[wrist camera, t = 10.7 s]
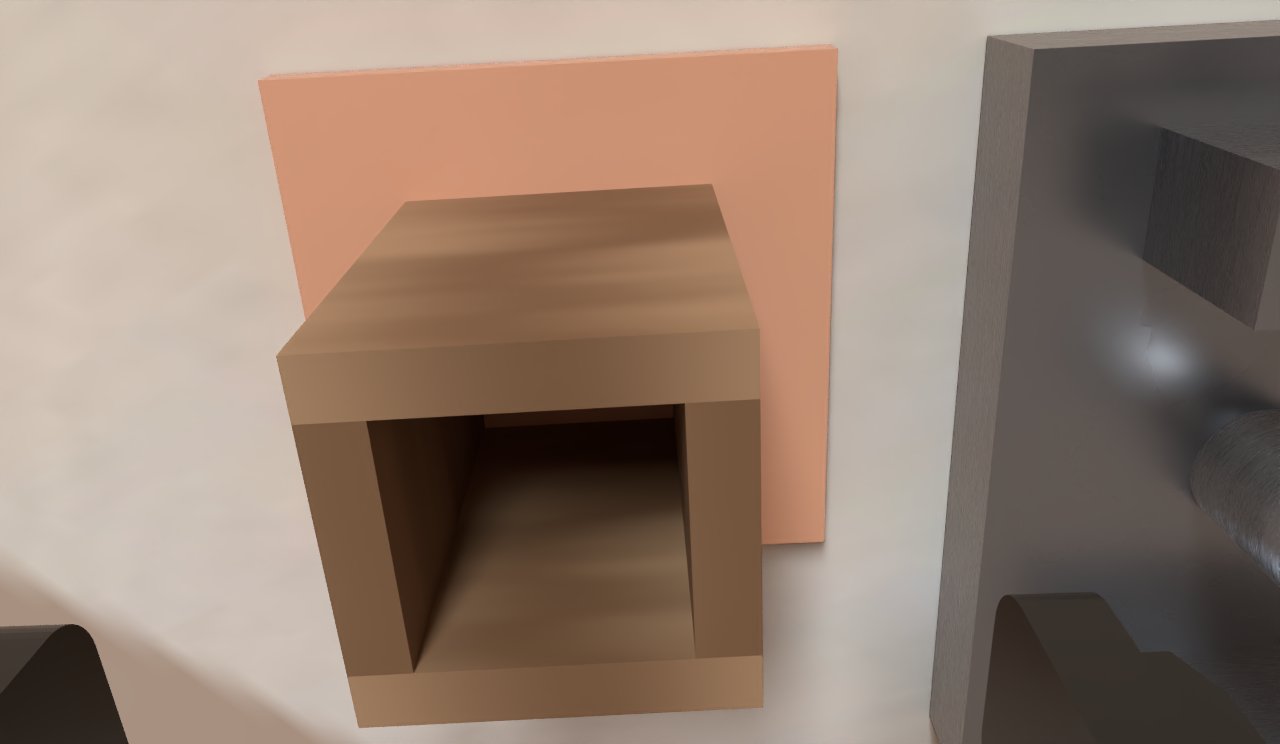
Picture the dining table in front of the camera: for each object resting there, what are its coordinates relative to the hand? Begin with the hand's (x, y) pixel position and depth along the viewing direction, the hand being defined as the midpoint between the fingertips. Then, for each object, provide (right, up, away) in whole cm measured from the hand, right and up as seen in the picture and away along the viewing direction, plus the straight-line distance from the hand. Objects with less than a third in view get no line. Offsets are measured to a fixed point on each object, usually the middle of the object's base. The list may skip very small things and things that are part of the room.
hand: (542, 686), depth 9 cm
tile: (0, +4, +9) cm, 10 cm away
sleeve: (0, +3, +8) cm, 9 cm away
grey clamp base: (+11, +2, +10) cm, 15 cm away
